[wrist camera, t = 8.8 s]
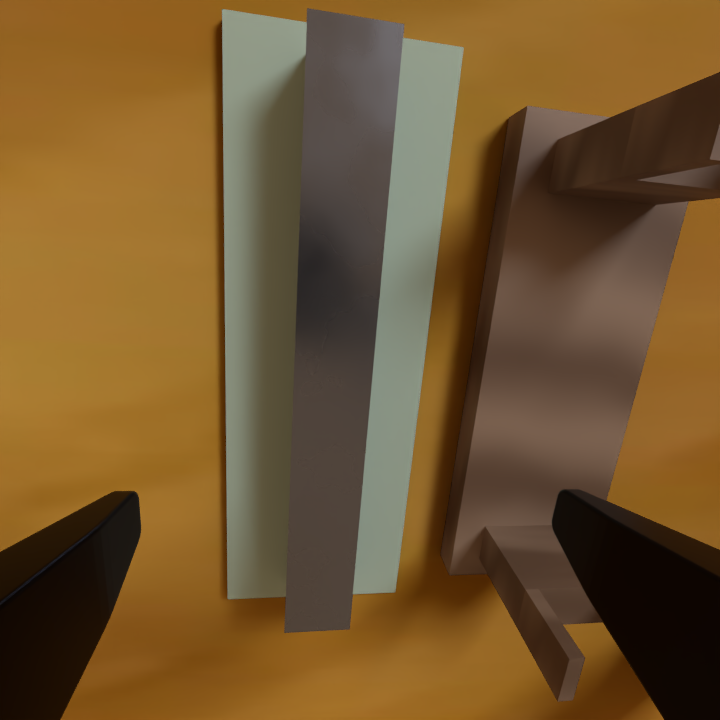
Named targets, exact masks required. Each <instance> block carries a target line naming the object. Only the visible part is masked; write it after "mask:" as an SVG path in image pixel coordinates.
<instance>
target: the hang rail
mask: <svg viewBox="0 0 720 720" xmlns="http://www.w3.org/2000/svg"><path fill="white" fill-rule="evenodd" d="M403 33H404V24H400V23H394V22H388V21H382V20H375V19H369V18H363V17H357V16H351V15H345V14H339V13H333V12H326V11H320V10H314V9H308V8H307V31H306V59H305V86H304V113H303V140H302V168H301V195H300V222H299V250H298V277H297V304H296V332H295V359H294V386H293V414H292V441H291V468H290V496H289V523H288V550H287V577H286V605H285V632H284V633H289V632H308V631H326V630H345V629H350V619H351V608H352V597H353V586H354V575H355V564H356V553H357V541H358V530H359V519H360V508H361V497H362V486H363V475H364V464H365V453H366V442H367V431H368V420H369V409H370V398H371V387H372V376H373V365H374V354H375V342H376V331H377V320H378V309H379V298H380V287H381V276H382V265H383V254H384V243H385V232H386V221H387V210H388V199H389V188H390V177H391V166H392V154H393V143H394V132H395V121H396V110H397V99H398V88H399V77H400V66H401V55H402V44H403Z"/></svg>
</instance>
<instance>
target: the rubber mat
mask: <svg viewBox="0 0 720 720" xmlns="http://www.w3.org/2000/svg"><path fill="white" fill-rule="evenodd" d="M306 31H307V22H301V21H294V20H288V19H282V18H275V17H269V16H263V15H257V14H250V13H244V12H238V11H232V10H225V9H222V56H223V163H224V270H225V376H226V483H227V589H228V599H248V598H272V597H286V577H287V550H288V523H289V496H290V468H291V441H292V414H293V386H294V359H295V332H296V304H297V277H298V250H299V222H300V195H301V168H302V140H303V113H304V86H305V59H306ZM463 49H464V47H458V46H451V45H445V44H439V43H433V42H426V41H420V40H414V39H407V38H403V44H402V55H401V66H400V77H399V88H398V99H397V110H396V121H395V132H394V143H393V154H392V166H391V177H390V188H389V199H388V210H387V221H386V232H385V243H384V254H383V265H382V276H381V287H380V298H379V309H378V320H377V331H376V342H375V354H374V365H373V376H372V387H371V398H370V409H369V420H368V431H367V442H366V453H365V464H364V475H363V486H362V497H361V508H360V519H359V530H358V541H357V553H356V564H355V575H354V586H353V594H369V593H393V592H395V591H396V583H397V575H398V567H399V559H400V551H401V543H402V535H403V527H404V519H405V511H406V503H407V495H408V487H409V479H410V471H411V463H412V455H413V447H414V439H415V432H416V424H417V416H418V408H419V400H420V392H421V384H422V376H423V368H424V360H425V352H426V344H427V336H428V328H429V320H430V312H431V304H432V296H433V288H434V280H435V272H436V264H437V256H438V248H439V240H440V232H441V224H442V216H443V208H444V200H445V192H446V184H447V176H448V168H449V161H450V153H451V145H452V137H453V129H454V121H455V113H456V105H457V97H458V89H459V81H460V73H461V65H462V57H463Z"/></svg>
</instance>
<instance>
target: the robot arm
mask: <svg viewBox="0 0 720 720" xmlns="http://www.w3.org/2000/svg"><path fill="white" fill-rule="evenodd" d="M552 528H553V532H554V534H555V536H556V538H557V540H558V542H559V543H560V545H561V547H562V549H563V551H564V553H565V555H566V557H567V559H568V561H569V563H570V565H571V567H572V569H573V571H574V573H575V575H576V577H577V578H578V580H579V582H580V584H581V586H582V588H583V590H584V592H585V594H586V595H587V597H588V599H589V600H590V602H591V604H592V605H593V607H594V609H595V610H596V612H597V614H598V615H599V617H600V618H601V620H602V621H603V623H604V625H605V626H606V628H607V629H608V631H609V633H610V634H611V636H612V637H613V639H614V641H615V642H616V644H617V645H618V647H619V649H620V650H621V652H622V653H623V655H624V656H625V658H626V660H627V661H628V663H629V664H630V666H631V668H632V669H633V671H634V672H635V674H636V676H637V677H638V679H639V680H640V682H641V684H642V685H643V687H644V688H645V690H646V691H647V693H648V695H649V696H650V698H651V699H652V701H653V703H654V704H655V706H656V707H657V709H658V711H659V712H660V714H661V715H662V717H663V718H664V720H720V550H719V549H716V548H714V547H712V546H709V545H707V544H705V543H703V542H700V541H698V540H696V539H693V538H691V537H689V536H686V535H684V534H682V533H679V532H677V531H675V530H673V529H670V528H668V527H666V526H663V525H661V524H659V523H656V522H654V521H652V520H649V519H647V518H645V517H643V516H640V515H638V514H636V513H633V512H631V511H629V510H626V509H624V508H622V507H619V506H617V505H615V504H613V503H610V502H608V501H606V500H603V499H601V498H599V497H596V496H594V495H592V494H589V493H587V492H585V491H582V490H580V489H563V490H561V491H560V492H559V493H558V496H557V500H556V504H555V508H554V512H553V516H552ZM140 533H141V520H140V507H139V497H138V494H137V493H136V492H135V491H114V492H111V493H110V494H108V495H106V496H104V497H102V498H100V499H98V500H96V501H95V502H93V503H91V504H89V505H87V506H85V507H83V508H81V509H80V510H78V511H76V512H74V513H72V514H70V515H68V516H66V517H65V518H63V519H61V520H59V521H57V522H55V523H53V524H52V525H50V526H48V527H46V528H44V529H42V530H40V531H38V532H37V533H35V534H33V535H31V536H29V537H27V538H25V539H23V540H22V541H20V542H18V543H16V544H14V545H12V546H10V547H8V548H7V549H5V550H3V551H1V552H0V720H60V719H61V717H62V715H63V713H64V711H65V709H66V707H67V705H68V703H69V701H70V699H71V697H72V695H73V693H74V691H75V689H76V687H77V685H78V683H79V681H80V679H81V677H82V675H83V673H84V670H85V668H86V666H87V664H88V662H89V660H90V658H91V656H92V654H93V652H94V650H95V648H96V646H97V644H98V642H99V640H100V638H101V636H102V634H103V632H104V630H105V627H106V625H107V623H108V621H109V619H110V616H111V614H112V611H113V609H114V606H115V604H116V601H117V598H118V596H119V593H120V590H121V587H122V585H123V582H124V579H125V577H126V574H127V571H128V569H129V566H130V563H131V560H132V558H133V555H134V552H135V550H136V547H137V544H138V541H139V538H140Z"/></svg>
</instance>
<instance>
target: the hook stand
mask: <svg viewBox="0 0 720 720" xmlns="http://www.w3.org/2000/svg"><path fill="white" fill-rule="evenodd" d="M714 198H720V72H719V73H716V74H714V75H712V76H709V77H707V78H704V79H702V80H700V81H697V82H695V83H692V84H690V85H688V86H685V87H683V88H680V89H678V90H675V91H673V92H671V93H668V94H666V95H663V96H661V97H659V98H656V99H654V100H651V101H649V102H647V103H644V104H642V105H639V106H637V107H634V108H632V109H630V110H627V111H625V112H622V113H620V114H618V115H615V116H613V117H603V116H596V115H589V114H582V113H575V112H568V111H560V110H553V109H546V108H539V107H532V106H527V107H525V108H523V109H522V110H520V111H519V112H517V113H515V114H514V115H512V116H511V117H509V121H508V127H507V133H506V140H505V146H504V153H503V159H502V165H501V172H500V178H499V184H498V191H497V197H496V204H495V210H494V216H493V223H492V229H491V235H490V242H489V248H488V255H487V261H486V267H485V274H484V280H483V286H482V293H481V299H480V305H479V312H478V318H477V325H476V331H475V337H474V344H473V350H472V356H471V363H470V369H469V376H468V382H467V388H466V395H465V401H464V407H463V414H462V420H461V427H460V433H459V439H458V446H457V452H456V458H455V465H454V471H453V478H452V484H451V490H450V497H449V503H448V509H447V516H446V522H445V529H444V535H443V541H442V548H441V554H440V555H441V557H442V559H443V562H444V564H445V566H446V569H447V571H448V573H449V575H472V574H488V576H489V577H490V579H491V581H492V583H493V585H494V587H495V588H496V590H497V592H498V594H499V596H500V597H501V599H502V601H503V603H504V605H505V607H506V608H507V610H508V612H509V614H510V616H511V617H512V619H513V621H514V623H515V625H516V627H517V628H518V630H519V632H520V634H521V636H522V637H523V639H524V641H525V643H526V645H527V647H528V648H529V650H530V652H531V654H532V656H533V657H534V659H535V661H536V663H537V665H538V667H539V668H540V670H541V672H542V674H543V676H544V678H545V679H546V681H547V683H548V685H549V687H550V688H551V690H552V692H553V694H554V696H555V698H556V699H557V701H570V700H573V698H574V695H575V691H576V688H577V684H578V681H579V678H580V674H581V671H582V667H583V664H584V661H585V657H584V656H583V654H582V653H581V651H580V650H579V648H578V647H577V645H576V644H575V642H574V641H573V639H572V638H571V636H570V635H569V633H568V632H567V630H566V629H565V627H564V626H563V624H580V623H598V622H603V621H602V620H601V618H600V617H599V615H598V614H597V612H596V610H595V609H594V607H593V605H592V604H591V602H590V600H589V599H588V597H587V595H586V594H585V592H584V590H583V588H582V586H581V584H580V582H579V580H578V578H577V577H576V575H575V573H574V571H573V569H572V567H571V565H570V563H569V561H568V559H567V557H566V555H565V553H564V551H563V549H562V547H561V545H560V543H559V542H558V540H557V538H556V536H555V534H554V532H553V528H552V516H553V512H554V508H555V504H556V500H557V496H558V493H559V492H560V491H561V490H563V489H580V490H582V491H585V492H587V493H589V494H592V495H594V496H596V497H599V498H601V499H603V500H607V496H608V492H609V489H610V485H611V481H612V478H613V474H614V471H615V467H616V463H617V460H618V456H619V452H620V449H621V445H622V441H623V438H624V434H625V431H626V427H627V423H628V420H629V416H630V412H631V409H632V405H633V401H634V398H635V394H636V390H637V387H638V383H639V380H640V376H641V372H642V369H643V365H644V361H645V358H646V354H647V350H648V347H649V343H650V340H651V336H652V332H653V329H654V325H655V321H656V318H657V314H658V310H659V307H660V303H661V300H662V296H663V292H664V289H665V285H666V281H667V278H668V274H669V270H670V267H671V263H672V259H673V256H674V252H675V249H676V245H677V241H678V238H679V234H680V230H681V227H682V223H683V219H684V216H685V212H686V209H687V205H688V201H696V200H705V199H714Z"/></svg>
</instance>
